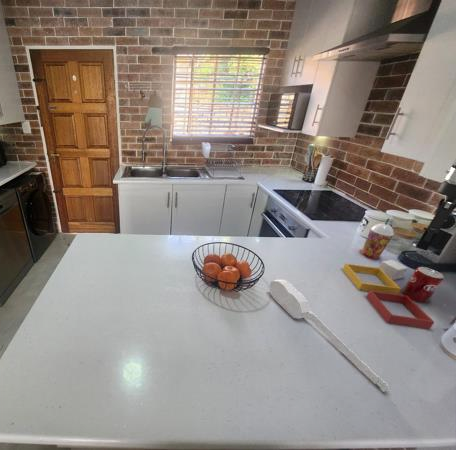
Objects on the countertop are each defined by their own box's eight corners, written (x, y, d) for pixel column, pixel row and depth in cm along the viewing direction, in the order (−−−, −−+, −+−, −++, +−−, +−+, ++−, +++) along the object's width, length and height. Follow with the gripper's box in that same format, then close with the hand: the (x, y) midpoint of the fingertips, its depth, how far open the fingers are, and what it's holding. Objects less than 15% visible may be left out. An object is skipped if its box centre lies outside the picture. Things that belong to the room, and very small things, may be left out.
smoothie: (355, 250, 124) (372, 213, 114) (373, 252, 123) (392, 215, 114) (365, 259, 116) (384, 221, 107) (384, 261, 115) (406, 223, 106)
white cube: (391, 281, 102) (398, 269, 99) (376, 272, 107) (382, 261, 104) (401, 279, 104) (408, 267, 101) (385, 270, 109) (392, 259, 106)
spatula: (366, 403, 62) (377, 398, 63) (383, 386, 58) (395, 381, 59) (265, 292, 92) (274, 290, 93) (272, 276, 88) (281, 274, 89)
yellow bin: (375, 275, 105) (379, 267, 104) (396, 296, 94) (401, 288, 92) (341, 271, 107) (345, 263, 106) (358, 291, 96) (362, 283, 94)
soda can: (396, 293, 95) (412, 268, 90) (406, 289, 98) (422, 264, 93) (420, 306, 90) (438, 280, 84) (430, 301, 92) (449, 276, 87)
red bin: (401, 303, 91) (407, 295, 89) (428, 331, 80) (434, 322, 78) (365, 298, 92) (369, 290, 91) (385, 324, 82) (391, 315, 80)
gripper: (447, 174, 86) (416, 229, 95) (437, 186, 71) (402, 249, 81) (481, 180, 80) (444, 236, 90) (477, 194, 66) (434, 259, 76)
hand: (424, 242), depth 85 cm, fingers open, 13 cm apart
